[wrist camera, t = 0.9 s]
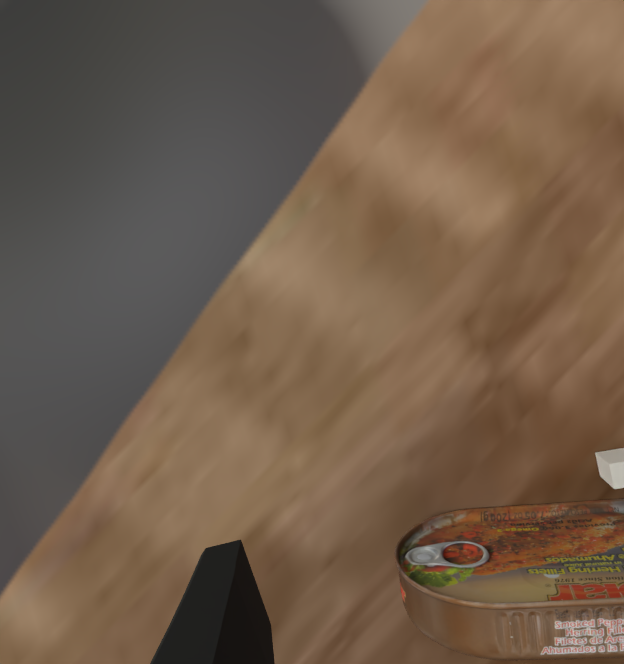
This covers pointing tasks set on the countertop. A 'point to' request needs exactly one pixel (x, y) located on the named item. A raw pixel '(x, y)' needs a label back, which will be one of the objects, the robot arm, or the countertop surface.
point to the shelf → (612, 467)
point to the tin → (519, 580)
